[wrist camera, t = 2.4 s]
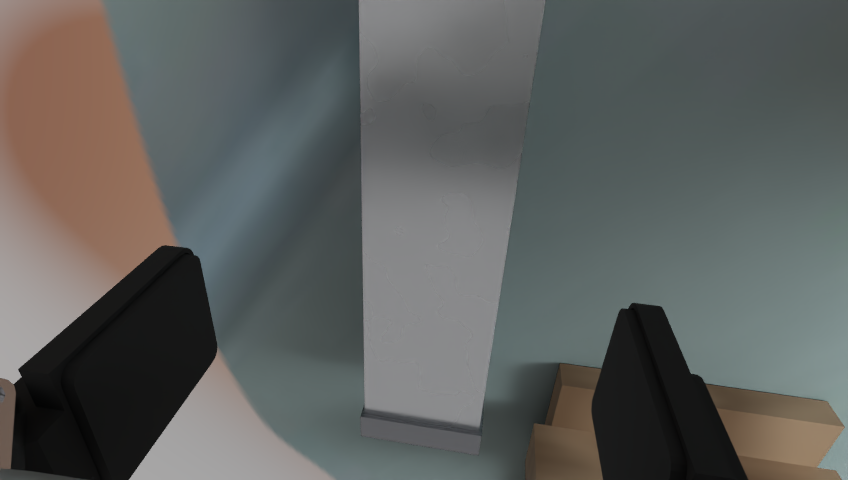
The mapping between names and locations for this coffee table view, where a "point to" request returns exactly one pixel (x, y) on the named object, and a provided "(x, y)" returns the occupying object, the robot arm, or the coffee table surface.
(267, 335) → the coffee table surface
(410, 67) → the rail
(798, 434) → the rack
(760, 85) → the coffee table surface
